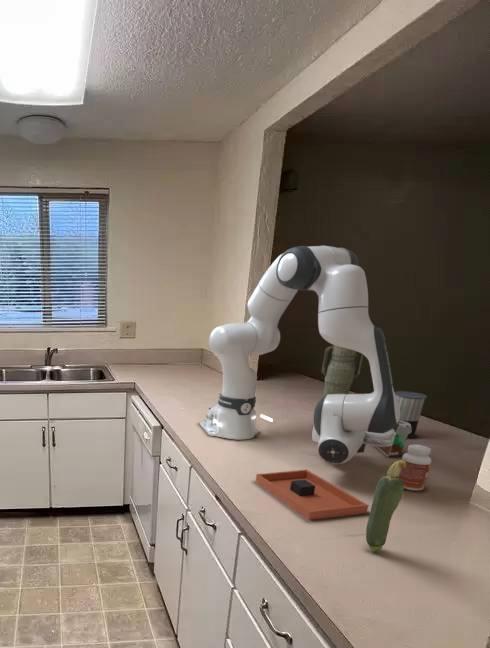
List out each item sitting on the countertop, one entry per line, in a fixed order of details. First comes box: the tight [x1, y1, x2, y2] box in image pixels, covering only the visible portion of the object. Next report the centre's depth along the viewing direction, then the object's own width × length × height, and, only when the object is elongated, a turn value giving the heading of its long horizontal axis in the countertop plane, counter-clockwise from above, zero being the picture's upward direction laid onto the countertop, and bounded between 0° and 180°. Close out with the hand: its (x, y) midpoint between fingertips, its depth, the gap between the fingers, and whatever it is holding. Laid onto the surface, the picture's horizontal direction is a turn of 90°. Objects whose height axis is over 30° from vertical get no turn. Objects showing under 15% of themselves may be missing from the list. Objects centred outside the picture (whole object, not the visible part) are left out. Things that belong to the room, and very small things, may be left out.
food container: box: [375, 420, 412, 458], centre depth 137 cm, size 12×6×10 cm, turn 168°
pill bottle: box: [397, 444, 432, 491], centre depth 113 cm, size 6×6×11 cm
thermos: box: [321, 344, 364, 398], centre depth 156 cm, size 9×12×35 cm
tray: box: [255, 469, 370, 521], centre depth 109 cm, size 21×15×2 cm
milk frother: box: [395, 390, 428, 439], centre depth 152 cm, size 14×16×15 cm
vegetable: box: [365, 459, 407, 553], centre depth 85 cm, size 4×4×20 cm
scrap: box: [290, 480, 315, 496], centre depth 111 cm, size 4×4×2 cm
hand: (356, 425), depth 132 cm, fingers closed on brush, 3 cm apart
